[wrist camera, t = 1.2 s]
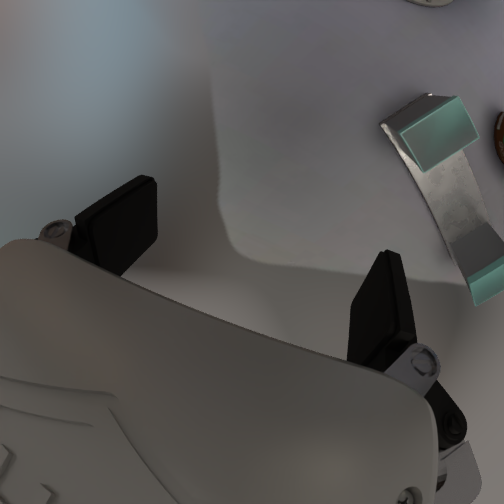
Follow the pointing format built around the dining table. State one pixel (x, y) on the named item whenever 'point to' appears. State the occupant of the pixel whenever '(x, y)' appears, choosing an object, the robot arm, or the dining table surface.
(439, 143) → the block
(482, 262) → the mounted module
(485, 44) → the dining table surface
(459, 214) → the rail
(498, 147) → the food container
